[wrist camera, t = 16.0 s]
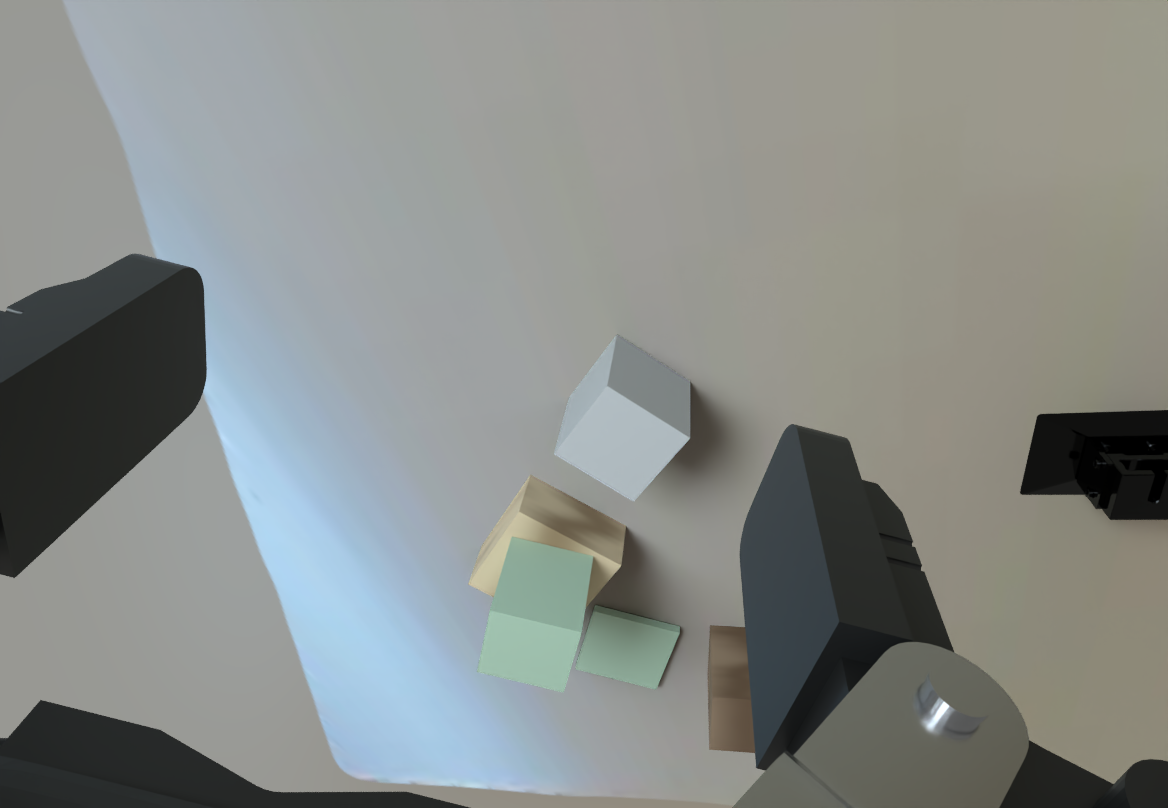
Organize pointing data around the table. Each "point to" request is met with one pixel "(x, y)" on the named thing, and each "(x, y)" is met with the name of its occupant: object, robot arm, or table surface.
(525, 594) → the green block
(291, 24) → the table surface
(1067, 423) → the black piece
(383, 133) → the table surface
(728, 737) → the walnut block
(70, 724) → the robot arm
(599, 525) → the maple base
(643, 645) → the tile
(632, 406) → the grey block
